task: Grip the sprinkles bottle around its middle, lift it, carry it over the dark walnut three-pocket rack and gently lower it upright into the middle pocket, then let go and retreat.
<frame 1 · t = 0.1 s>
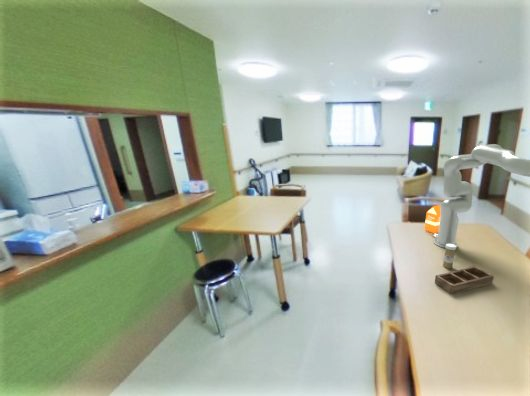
sprinkles bottle: (447, 266, 132), on the table
orange juice: (433, 230, 176), on the table
rack: (462, 283, 117), on the table
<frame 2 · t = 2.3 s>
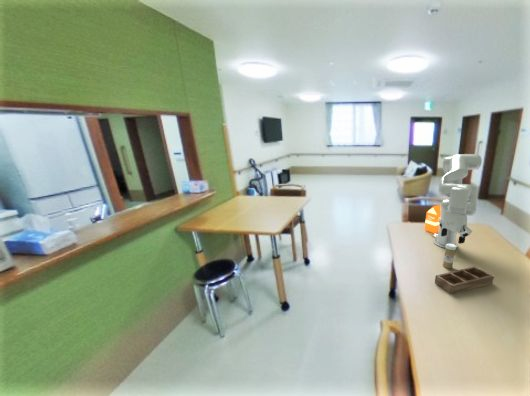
hand: (452, 239, 127), 17 cm above the table, fingers open, 9 cm apart
nothing on the table moved.
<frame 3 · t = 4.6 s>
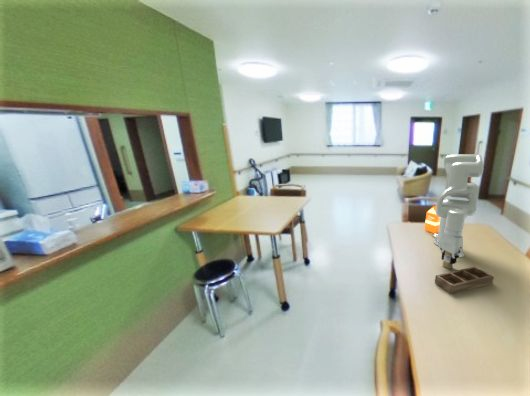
hand: (448, 261, 131), 3 cm above the table, fingers closed on sprinkles bottle, 4 cm apart
sprinkles bottle: (447, 266, 132), on the table, touching gripper
everything else where it was.
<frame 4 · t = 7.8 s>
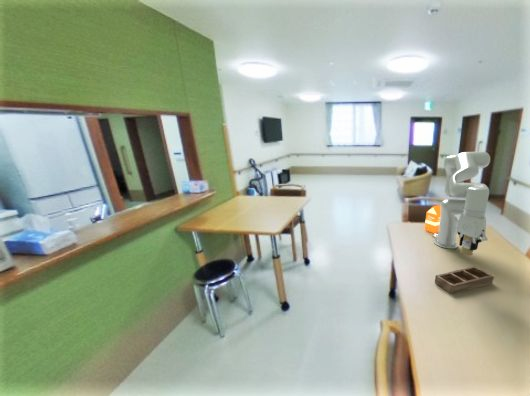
hand: (467, 247, 113), 20 cm above the table, fingers closed on sprinkles bottle, 4 cm apart
sprinkles bottle: (466, 253, 114), point 16 cm above the table, touching gripper
everything else where it was.
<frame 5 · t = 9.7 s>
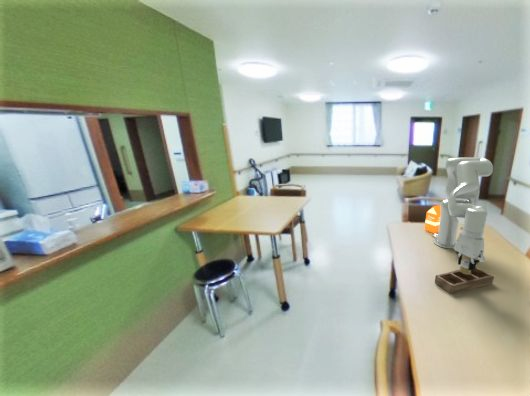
hand: (466, 266, 114), 10 cm above the table, fingers closed on sprinkles bottle, 4 cm apart
sprinkles bottle: (465, 272, 115), point 6 cm above the table, touching gripper
everything else where it was.
when the fingers open (6 cm above the table, at t = 11.3 s): sprinkles bottle drops 1 cm, resting on rack.
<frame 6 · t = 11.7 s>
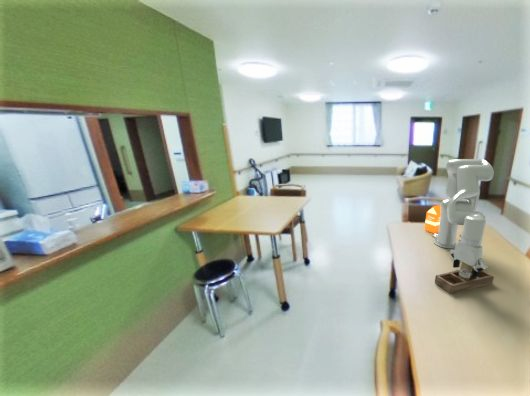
hand: (465, 271, 115), 7 cm above the table, fingers open, 8 cm apart
sprinkles bottle: (463, 281, 117), point 1 cm above the table, touching rack
everything else where it was.
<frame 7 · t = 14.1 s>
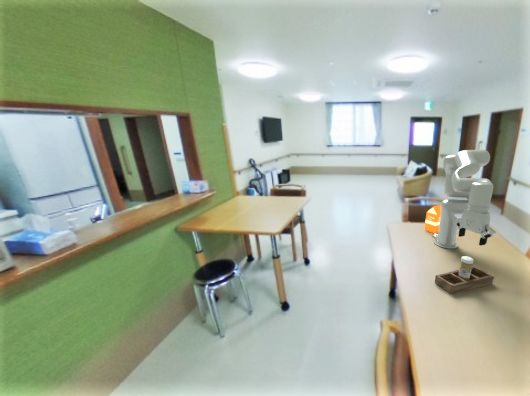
hand: (471, 240, 113), 23 cm above the table, fingers open, 9 cm apart
nothing on the table moved.
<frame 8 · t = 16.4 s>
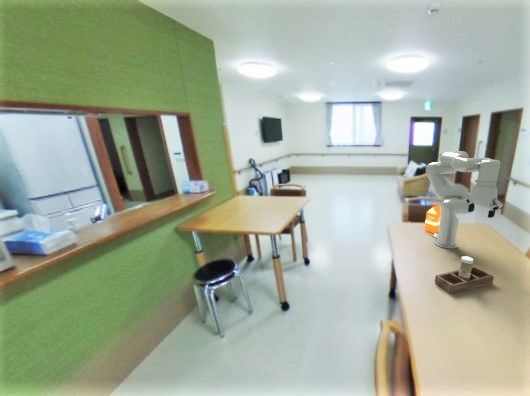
hand: (480, 214, 124), 30 cm above the table, fingers open, 9 cm apart
nothing on the table moved.
at the end: sprinkles bottle 0.1 cm off-centre on the rack, point 0.8 cm above the rack's base; sprinkles bottle tilted 0°; the gripper is holding nothing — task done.
